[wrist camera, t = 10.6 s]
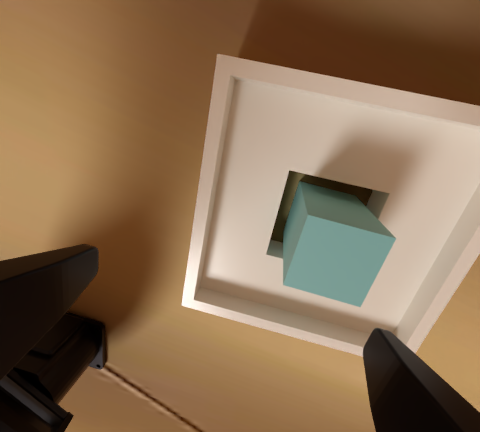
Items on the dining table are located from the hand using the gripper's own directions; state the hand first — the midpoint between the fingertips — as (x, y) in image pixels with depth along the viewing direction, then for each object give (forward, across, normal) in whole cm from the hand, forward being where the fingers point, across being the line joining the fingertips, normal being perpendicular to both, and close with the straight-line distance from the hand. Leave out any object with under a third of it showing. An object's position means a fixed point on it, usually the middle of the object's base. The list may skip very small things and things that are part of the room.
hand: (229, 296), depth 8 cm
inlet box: (+12, -4, 0) cm, 12 cm away
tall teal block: (+12, -4, 0) cm, 13 cm away
